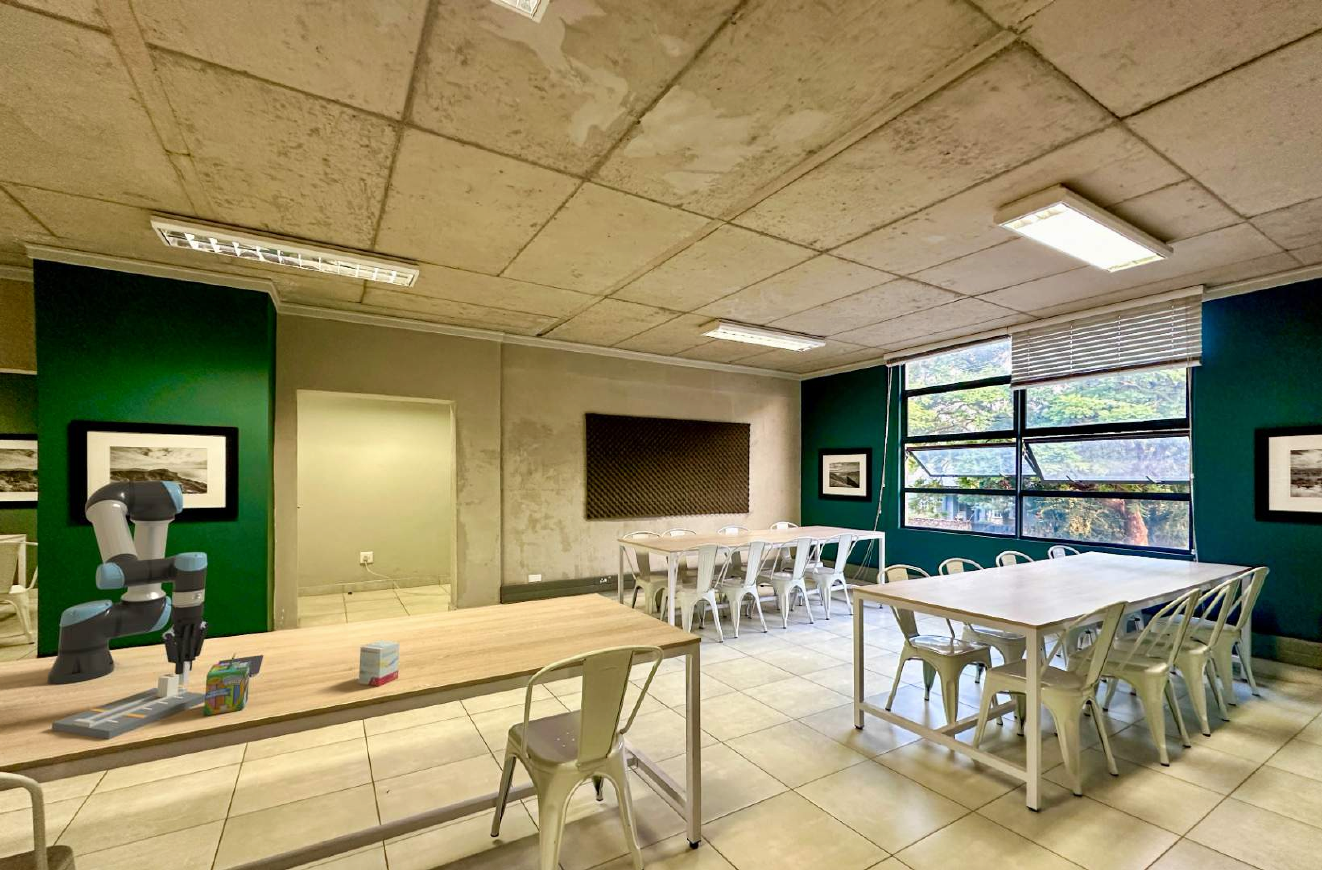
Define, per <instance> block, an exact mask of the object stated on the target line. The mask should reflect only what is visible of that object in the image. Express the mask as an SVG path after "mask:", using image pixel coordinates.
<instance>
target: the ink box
mask: <svg viewBox="0 0 1322 870" xmlns="http://www.w3.org/2000/svg"><path fill="white" fill-rule="evenodd" d="M359 653H360V654H359V671H358V673H359V674H358V684H361V685H367V686H376V687H381V686H383V685H385V684H387V683H390V682H392V681H394V680H396V679H398V678H399V661H400V659H399V658H400V657H399V656H400V642H397V641H389V640H383V639H380V640H378V641H377V640H376V641H374V642H371V643H368V644H365V645H362V646H360V651H359Z"/></svg>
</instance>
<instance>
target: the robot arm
mask: <svg viewBox="0 0 1322 870" xmlns="http://www.w3.org/2000/svg"><path fill="white" fill-rule="evenodd" d="M183 497H184V496H183V493H182V489H181V487H180V485H179V483H177V482H176V481H169V480H132V481H131V480H130V481H127V480H120V481H114V482H110V483H108V484H105V485H103V486H101V487H99V488H98V489H97V490H96V491H94V492H93V493H92V494H91V495H90V497H89V498H88V499H87V501H86V503H85V507H84V509H85V510H84V513H85V517H86V519H87V520H88V521H89V522H91V523H92V526H93V529H94V530H93V531H94V533H95V537H96V541H97V544H98V549H99V552H100V555H101V560H102V563H101V564H99V565H98V566H97V569H96V573H95V584H96V587H97V588H98V589H99V590H117V589H124V588H125V589H126V588H127V592H125V593H123V594H122V595H121V596H120V602H113V601H112V600H111V599H102V600H101V599H100V600H93V601H89V602H88V601H87V602H85V603H80V604H77V605H73V606H71V607H69V608H66V609H65V610H64V611H62V613H61V618H60V623H59V627H60V629H59V640H58V650H57V657H56V659H55V660H54V662H53V664H52V666H51V668H50V671H49V673H47V674H48V675H47V683H50V684H56V685H57V684H58V685H59V684H61V685H62V684H71V683H79V682H84V681H88V680H89V681H90V680H92V679H97V678H101V677H104V676H107V675H108V674H110V673H112V672H113V671H115V670H114V669H115V662H114V659H113V656H112V654H111V650H110V648H109V642H110V639H111V640H112V639H116V638H117V639H118V638H124V637H127V636H128V637H129V636H134V635H140V634H147V633H151V632H155V631H156V632H157V631H159V630H162V629H163V628H164V627H165V626H166V624H167V623H168V622H169V619H170V618H171V624H170V625H169V629H168V630H167V631H165V632H161V633H160V637H161V638H162V640H163V641H164V642H163V643H164V647H165V652H166V653H165V654H166V658H167V662H168V663H171V664H175V667H174V668H175V669H174V674H177V675H179V685H180V686H186V685H189V683H190V672H191V671H192V669H193V662H194V661H195V660H196V657H197V658H198V657H199V656H201V653H202V649H203V645H204V643H205V638H206V634H207V632H208V629H209V628H210V627H211V622H206V621H204V619H203V615H204V609H205V604H204V603H203V602H205V593H206V592H205V591H206V580H207V579H206V578H207V577H206V576H207V566H208V559H207V558H208V557H207V556H208V555H207V553H205V552H202V551H200V552H199V551H198V552H197V551H193V552H192V551H191V552H183V553H179V554H176V555H172V556H169V557H166V556H165V555H166V547H167V539H168V529H169V524H170V523H171V522H172V521H174V520H175V519H176V518H175V515H176V514H179V513H182V511H183V508H184V498H183ZM126 516H130V517H129V520H130V521H131V522H132V523H133V524H135V525H134V526H135V527H134V534H133V535H134V536H133V537H132V533H131V530H130V527H129V524H128V521H127V518H126ZM163 583H165V584H166V583H173V585H172V586H173V587H172V596H171V597H170V596H167V593H166V591H164V590H163V589H162V584H163ZM179 685H178V686H179Z"/></svg>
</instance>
